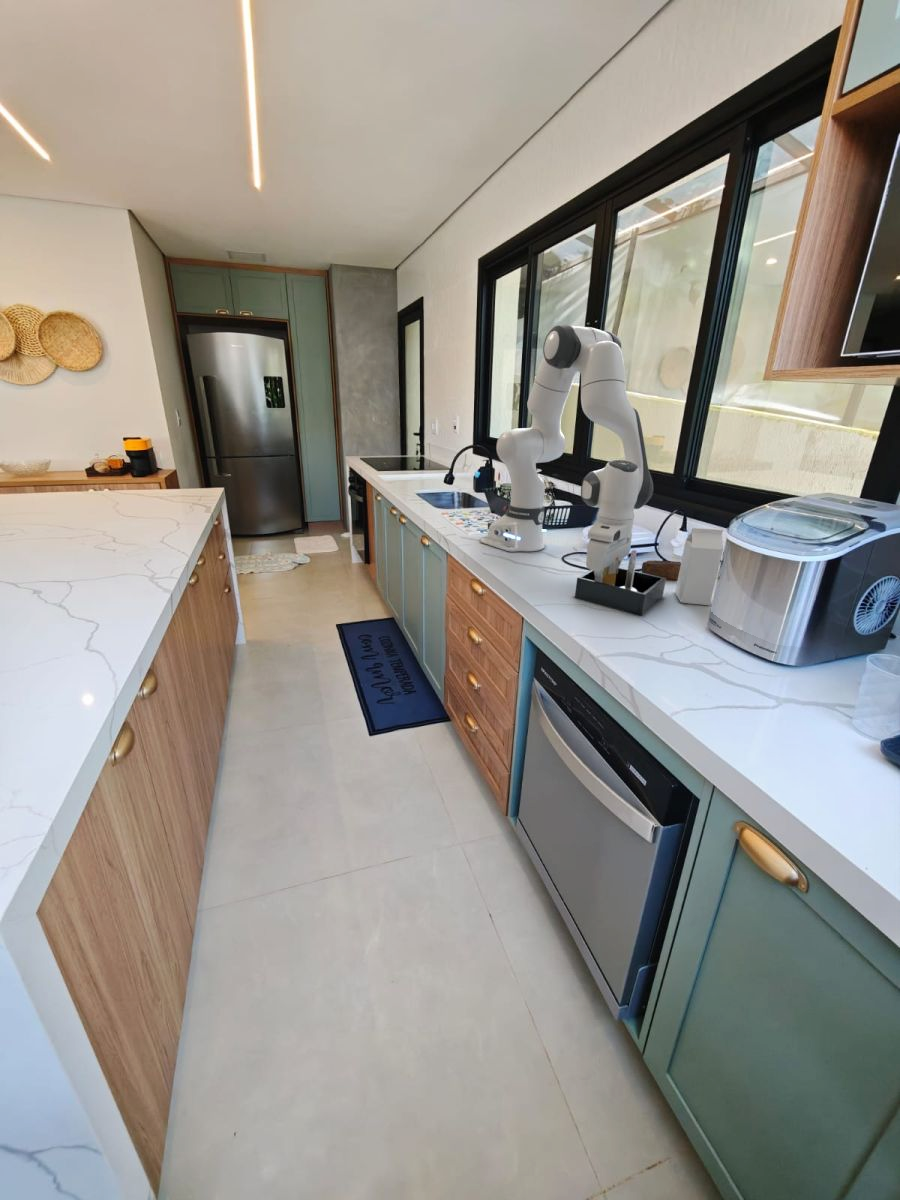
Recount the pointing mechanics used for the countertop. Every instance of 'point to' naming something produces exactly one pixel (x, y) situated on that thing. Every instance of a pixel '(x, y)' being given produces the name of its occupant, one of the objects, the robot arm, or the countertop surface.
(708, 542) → the milk carton
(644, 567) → the brick
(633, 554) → the screw
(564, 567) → the countertop surface
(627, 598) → the grey storage bin
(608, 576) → the supplement box
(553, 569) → the countertop surface
